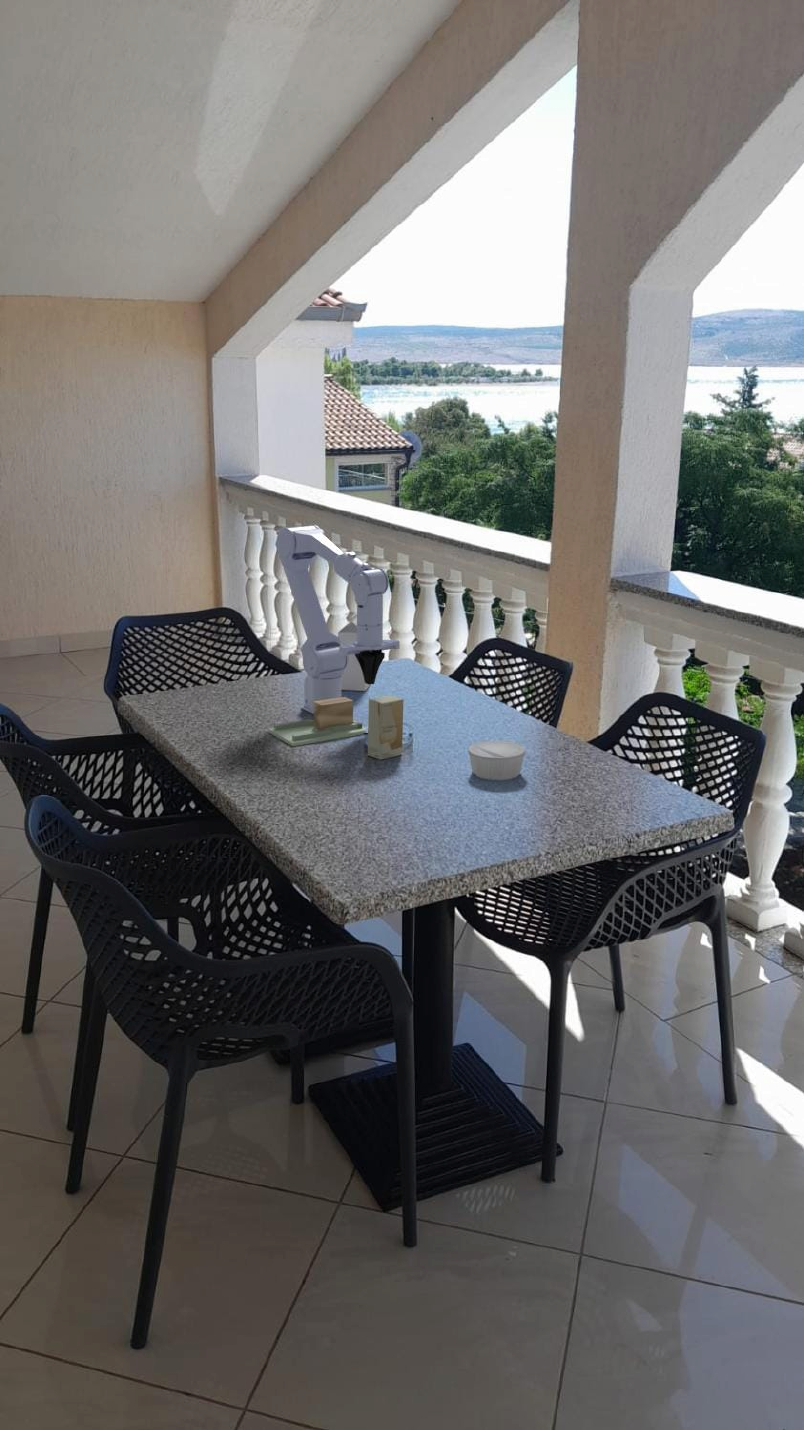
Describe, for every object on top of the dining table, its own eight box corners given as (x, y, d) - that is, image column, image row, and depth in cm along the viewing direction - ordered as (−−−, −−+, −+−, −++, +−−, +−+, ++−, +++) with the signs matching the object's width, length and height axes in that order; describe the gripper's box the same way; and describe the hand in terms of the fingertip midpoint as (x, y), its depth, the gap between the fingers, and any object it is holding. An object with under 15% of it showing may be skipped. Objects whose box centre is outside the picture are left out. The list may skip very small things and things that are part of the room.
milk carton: (338, 690, 282) (337, 616, 276) (344, 683, 289) (343, 611, 283) (365, 691, 281) (365, 617, 275) (370, 684, 287) (371, 612, 282)
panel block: (313, 727, 248) (313, 701, 246) (345, 722, 252) (345, 696, 250) (321, 731, 245) (321, 705, 243) (353, 726, 249) (353, 700, 247)
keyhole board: (268, 732, 247) (267, 724, 246) (342, 719, 256) (342, 712, 256) (292, 746, 237) (292, 738, 236) (369, 733, 247) (369, 725, 246)
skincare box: (380, 760, 228) (380, 703, 225) (366, 755, 231) (367, 699, 228) (403, 754, 232) (404, 698, 229) (390, 749, 236) (390, 694, 232)
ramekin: (460, 779, 219) (461, 753, 217) (477, 762, 229) (477, 737, 227) (516, 786, 215) (517, 760, 213) (530, 768, 225) (531, 743, 223)
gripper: (350, 630, 239) (350, 691, 243) (407, 623, 246) (406, 683, 250) (334, 624, 244) (334, 684, 248) (390, 618, 252) (389, 676, 256)
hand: (369, 683), depth 250 cm, fingers closed
